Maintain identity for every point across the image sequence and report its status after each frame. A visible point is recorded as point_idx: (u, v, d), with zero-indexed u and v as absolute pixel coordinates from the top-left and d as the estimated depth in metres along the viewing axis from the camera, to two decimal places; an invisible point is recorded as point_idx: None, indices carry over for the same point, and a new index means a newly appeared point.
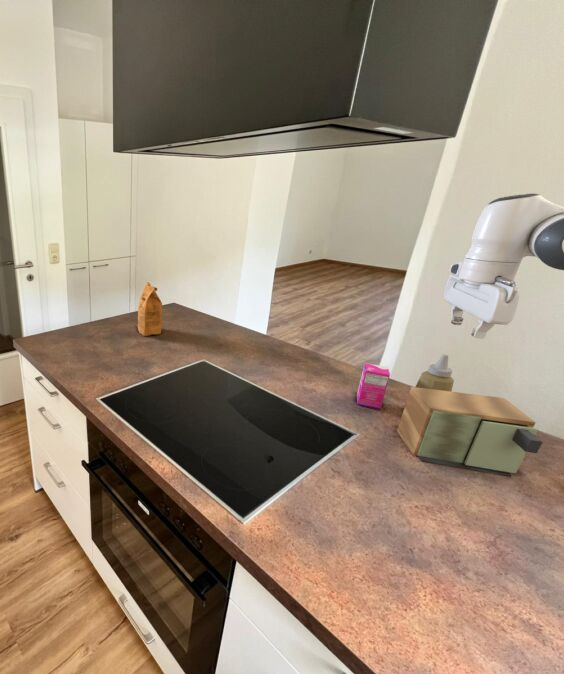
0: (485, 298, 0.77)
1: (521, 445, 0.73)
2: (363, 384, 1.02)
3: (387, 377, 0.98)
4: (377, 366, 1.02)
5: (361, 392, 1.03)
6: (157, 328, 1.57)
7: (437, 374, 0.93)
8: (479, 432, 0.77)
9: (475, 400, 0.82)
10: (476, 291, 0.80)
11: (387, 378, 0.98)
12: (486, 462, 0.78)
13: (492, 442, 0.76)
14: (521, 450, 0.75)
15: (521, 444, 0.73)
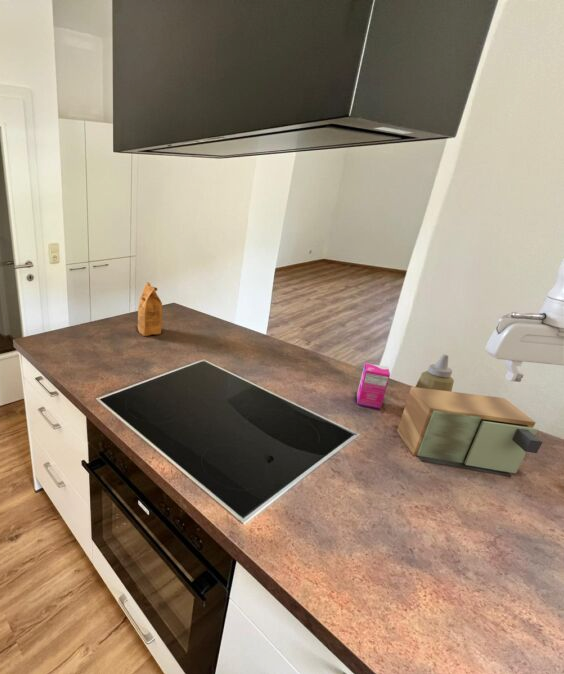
0: None
1: (521, 445, 0.73)
2: (363, 384, 1.02)
3: (387, 377, 0.98)
4: (377, 366, 1.02)
5: (361, 392, 1.03)
6: (157, 328, 1.57)
7: (437, 374, 0.93)
8: (479, 432, 0.77)
9: (475, 400, 0.82)
10: None
11: (387, 378, 0.98)
12: (486, 462, 0.78)
13: (492, 442, 0.76)
14: (521, 450, 0.75)
15: (521, 444, 0.73)
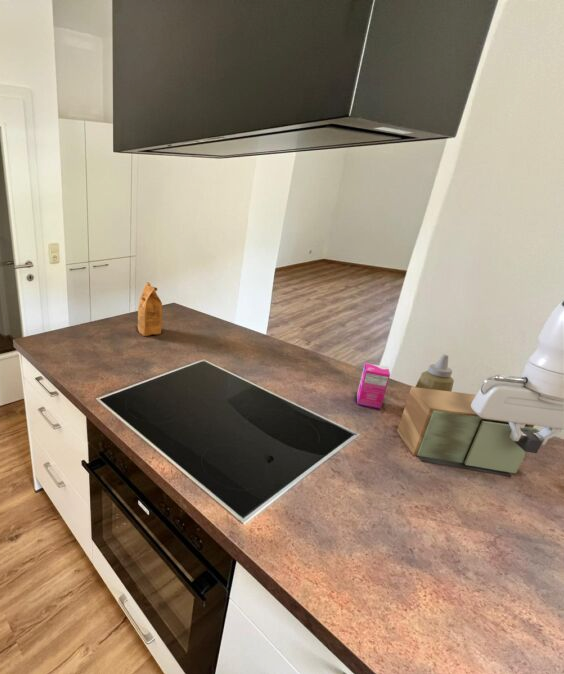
0: None
1: (521, 445, 0.73)
2: (363, 384, 1.02)
3: (387, 377, 0.98)
4: (377, 366, 1.02)
5: (361, 392, 1.03)
6: (157, 328, 1.57)
7: (437, 374, 0.93)
8: (479, 432, 0.77)
9: None
10: None
11: (387, 378, 0.98)
12: (486, 462, 0.78)
13: (492, 442, 0.76)
14: (521, 450, 0.75)
15: (521, 444, 0.73)
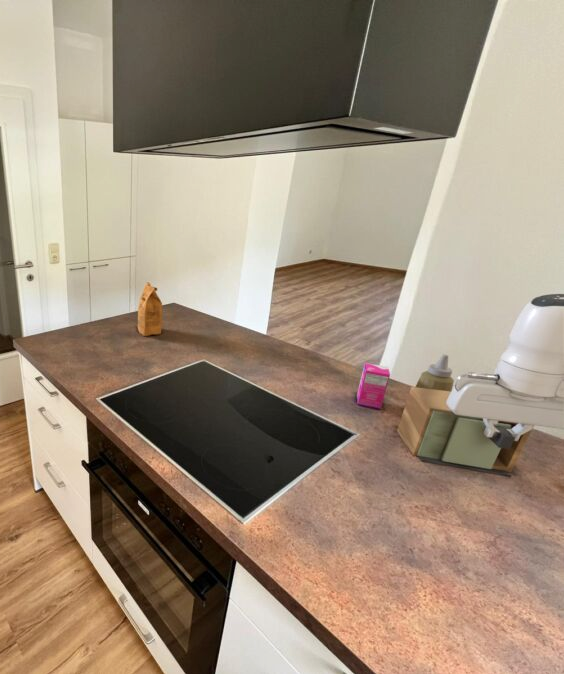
0: None
1: (495, 441, 0.74)
2: (363, 384, 1.02)
3: (387, 377, 0.98)
4: (377, 366, 1.02)
5: (361, 392, 1.03)
6: (157, 328, 1.57)
7: (437, 374, 0.93)
8: (455, 428, 0.78)
9: None
10: None
11: (387, 378, 0.98)
12: (462, 458, 0.79)
13: (468, 438, 0.78)
14: (496, 446, 0.76)
15: (495, 440, 0.74)
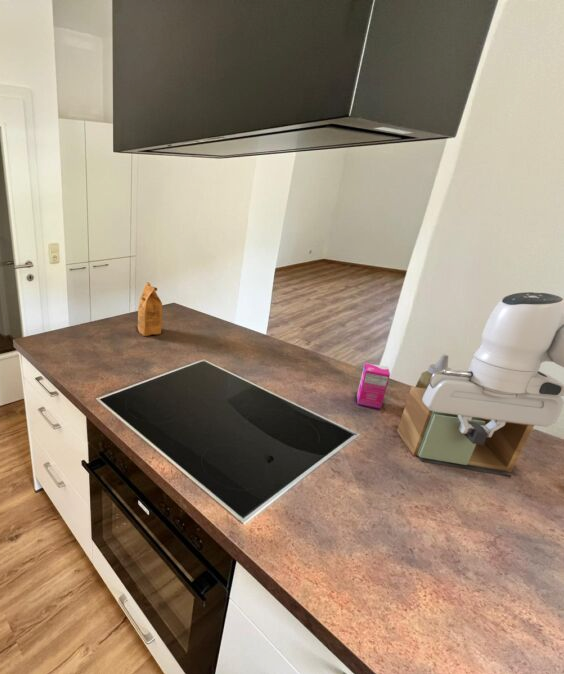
0: None
1: (469, 437, 0.75)
2: (363, 384, 1.02)
3: (387, 377, 0.98)
4: (377, 366, 1.02)
5: (361, 392, 1.03)
6: (157, 328, 1.57)
7: None
8: (431, 425, 0.79)
9: None
10: None
11: (387, 378, 0.98)
12: (439, 454, 0.81)
13: (444, 435, 0.79)
14: (471, 442, 0.78)
15: (469, 436, 0.75)
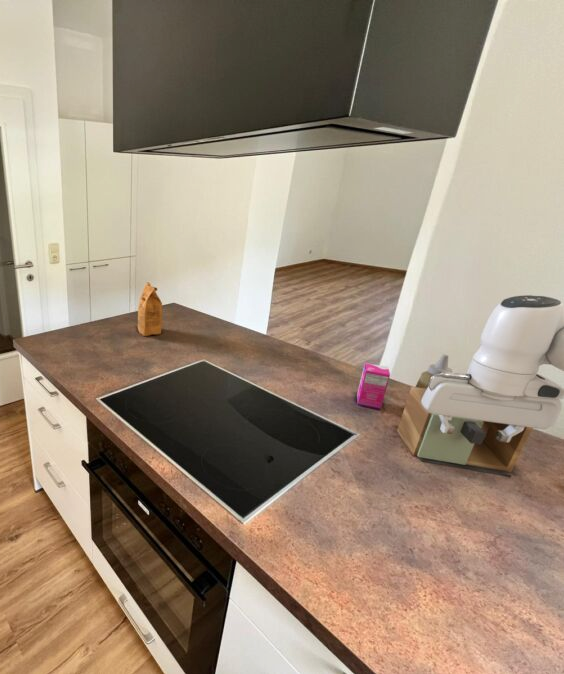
0: None
1: (467, 437, 0.75)
2: (363, 384, 1.02)
3: (387, 377, 0.98)
4: (377, 366, 1.02)
5: (361, 392, 1.03)
6: (157, 328, 1.57)
7: None
8: (429, 425, 0.79)
9: None
10: None
11: (387, 378, 0.98)
12: (437, 454, 0.81)
13: (442, 434, 0.79)
14: (469, 442, 0.78)
15: (467, 436, 0.75)
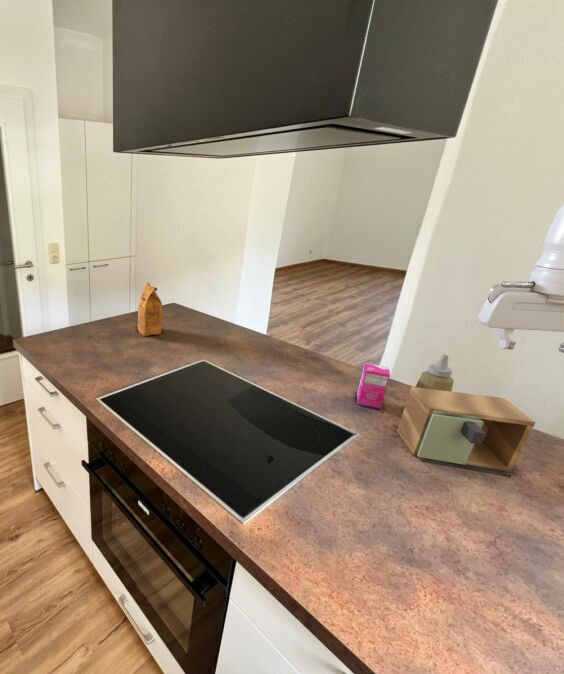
0: None
1: (467, 437, 0.75)
2: (363, 384, 1.02)
3: (387, 377, 0.98)
4: (377, 366, 1.02)
5: (361, 392, 1.03)
6: (157, 328, 1.57)
7: (437, 374, 0.93)
8: (429, 425, 0.79)
9: (475, 400, 0.82)
10: None
11: (387, 378, 0.98)
12: (437, 454, 0.81)
13: (442, 434, 0.79)
14: (469, 442, 0.78)
15: (467, 436, 0.75)
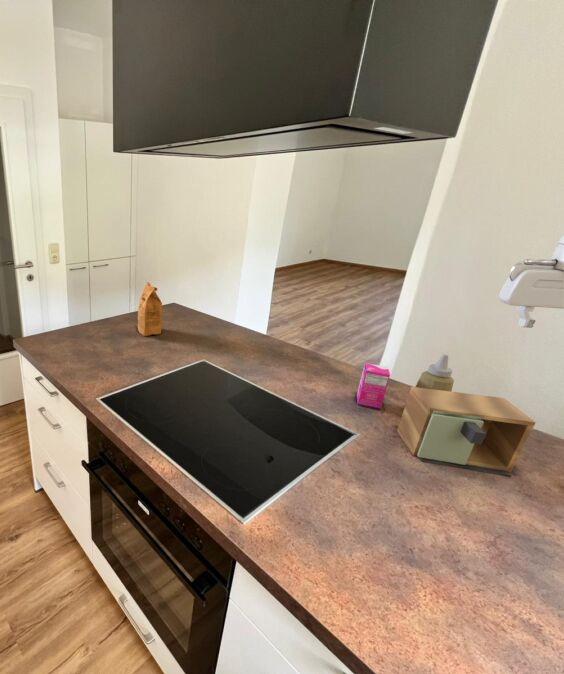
0: None
1: (467, 437, 0.75)
2: (363, 384, 1.02)
3: (387, 377, 0.98)
4: (377, 366, 1.02)
5: (361, 392, 1.03)
6: (157, 328, 1.57)
7: (437, 374, 0.93)
8: (429, 425, 0.79)
9: (475, 400, 0.82)
10: None
11: (387, 378, 0.98)
12: (437, 454, 0.81)
13: (442, 434, 0.79)
14: (469, 442, 0.78)
15: (467, 436, 0.75)
